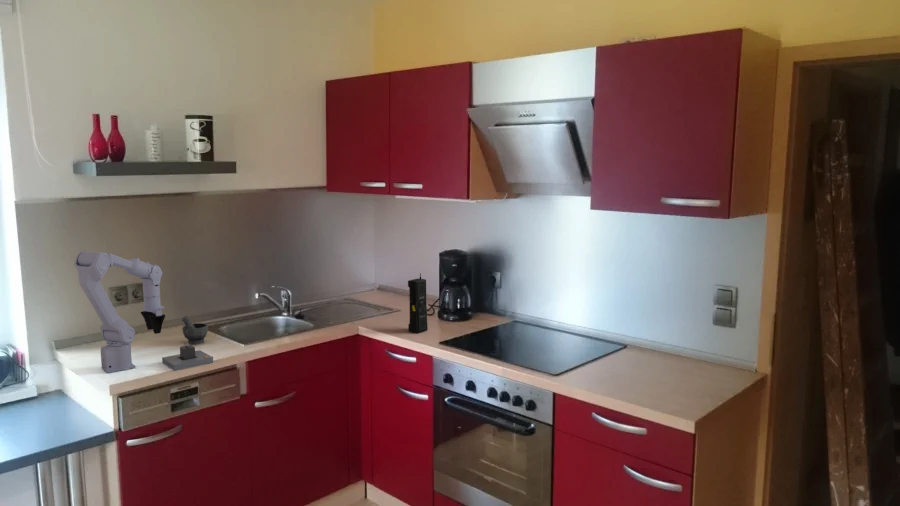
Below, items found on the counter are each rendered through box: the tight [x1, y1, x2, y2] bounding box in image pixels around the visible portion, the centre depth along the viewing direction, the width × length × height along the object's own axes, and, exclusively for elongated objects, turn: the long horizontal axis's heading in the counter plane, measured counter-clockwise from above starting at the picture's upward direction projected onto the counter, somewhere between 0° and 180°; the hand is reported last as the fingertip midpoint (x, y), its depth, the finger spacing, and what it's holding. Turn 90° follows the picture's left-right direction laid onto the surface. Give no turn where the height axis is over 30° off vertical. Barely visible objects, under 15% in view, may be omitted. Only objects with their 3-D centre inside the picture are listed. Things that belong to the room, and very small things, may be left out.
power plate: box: [161, 349, 214, 371], centre depth 241 cm, size 14×12×2 cm
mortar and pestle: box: [181, 315, 209, 346], centre depth 266 cm, size 11×9×12 cm
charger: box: [179, 343, 196, 360], centre depth 241 cm, size 4×4×7 cm
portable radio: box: [407, 273, 429, 334], centre depth 284 cm, size 8×6×25 cm
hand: (154, 331), depth 249 cm, fingers open, 7 cm apart
